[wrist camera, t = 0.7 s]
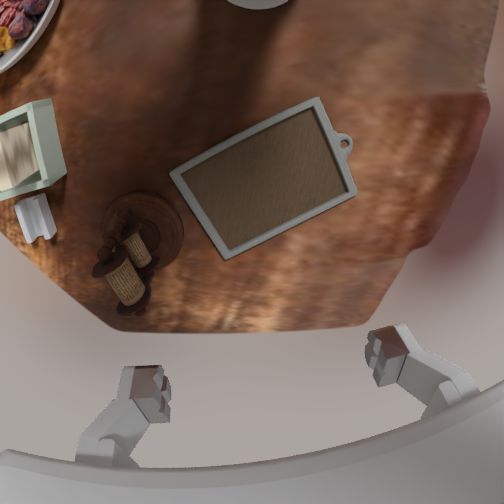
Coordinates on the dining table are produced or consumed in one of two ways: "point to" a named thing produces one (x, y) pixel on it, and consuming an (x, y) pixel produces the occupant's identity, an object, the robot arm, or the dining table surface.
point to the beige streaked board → (16, 156)
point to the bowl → (22, 27)
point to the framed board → (267, 178)
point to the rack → (37, 145)
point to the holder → (35, 217)
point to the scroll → (137, 246)
